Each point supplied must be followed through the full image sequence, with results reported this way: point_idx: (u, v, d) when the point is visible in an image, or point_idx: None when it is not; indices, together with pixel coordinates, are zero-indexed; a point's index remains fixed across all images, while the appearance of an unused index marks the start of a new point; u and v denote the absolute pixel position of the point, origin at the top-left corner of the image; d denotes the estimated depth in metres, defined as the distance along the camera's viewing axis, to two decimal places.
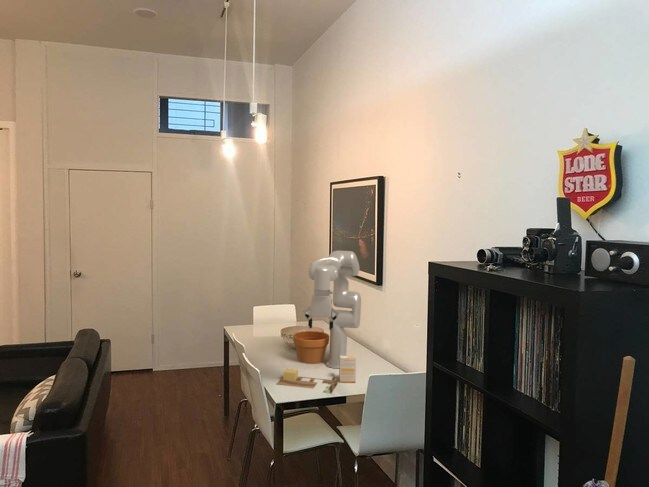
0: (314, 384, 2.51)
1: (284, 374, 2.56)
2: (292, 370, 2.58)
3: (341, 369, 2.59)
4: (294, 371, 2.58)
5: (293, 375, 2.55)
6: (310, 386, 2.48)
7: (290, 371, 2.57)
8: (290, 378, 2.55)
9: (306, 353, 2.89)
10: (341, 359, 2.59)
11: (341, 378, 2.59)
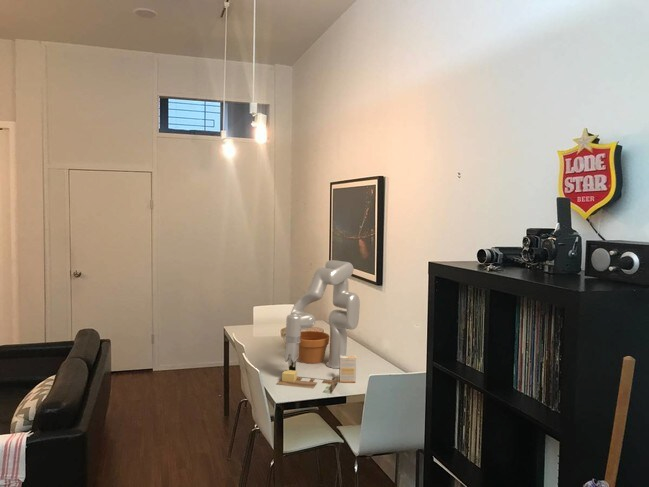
0: (314, 384, 2.51)
1: (283, 375, 2.54)
2: (291, 371, 2.57)
3: (341, 369, 2.59)
4: (293, 372, 2.56)
5: (292, 376, 2.53)
6: (310, 386, 2.48)
7: (289, 372, 2.55)
8: (289, 379, 2.54)
9: (306, 353, 2.89)
10: (341, 359, 2.59)
11: (341, 378, 2.59)
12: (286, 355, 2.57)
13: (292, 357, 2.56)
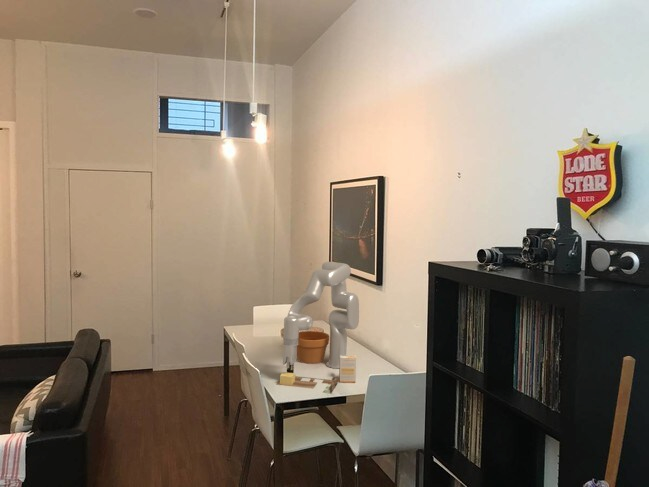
0: (314, 384, 2.51)
1: (280, 378, 2.50)
2: (289, 374, 2.52)
3: (341, 369, 2.59)
4: (291, 375, 2.51)
5: (290, 379, 2.49)
6: (310, 386, 2.48)
7: (287, 375, 2.51)
8: (286, 382, 2.49)
9: (306, 353, 2.89)
10: (341, 359, 2.59)
11: (341, 378, 2.59)
12: (284, 358, 2.52)
13: (290, 360, 2.52)
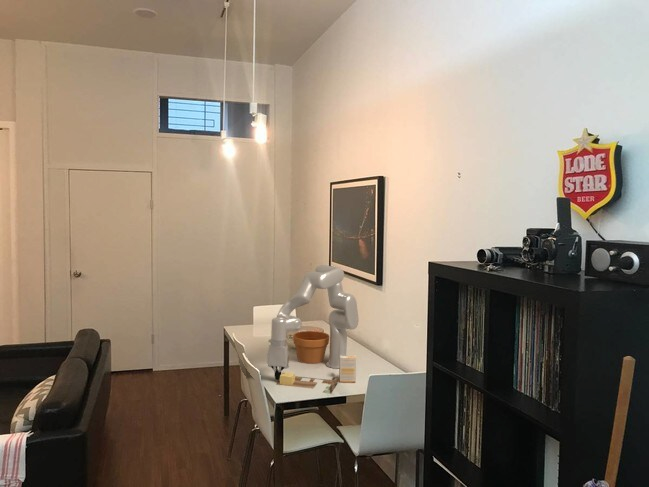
0: (314, 384, 2.51)
1: (280, 378, 2.50)
2: (289, 374, 2.52)
3: (341, 369, 2.59)
4: (291, 375, 2.51)
5: (290, 379, 2.49)
6: (310, 386, 2.48)
7: (287, 375, 2.51)
8: (286, 382, 2.49)
9: (306, 353, 2.89)
10: (341, 359, 2.59)
11: (341, 378, 2.59)
12: (286, 359, 2.51)
13: (288, 359, 2.54)
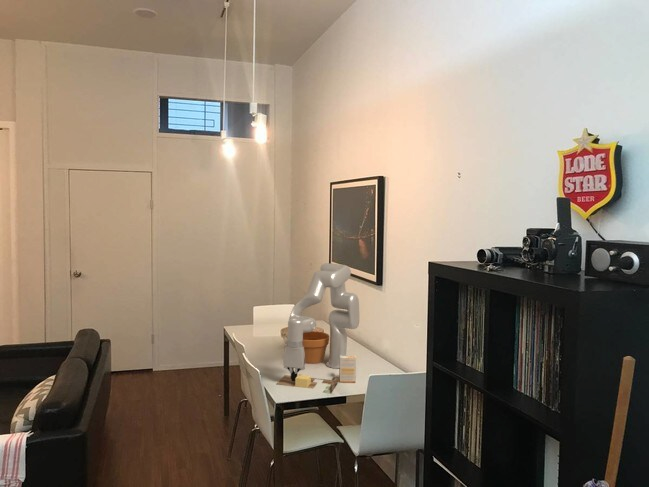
0: (314, 384, 2.51)
1: (296, 380, 2.47)
2: (304, 376, 2.50)
3: (341, 369, 2.59)
4: (307, 377, 2.49)
5: (305, 381, 2.46)
6: (310, 386, 2.48)
7: (302, 377, 2.49)
8: (302, 385, 2.47)
9: (306, 353, 2.89)
10: (341, 359, 2.59)
11: (341, 378, 2.59)
12: (303, 360, 2.49)
13: (304, 360, 2.52)
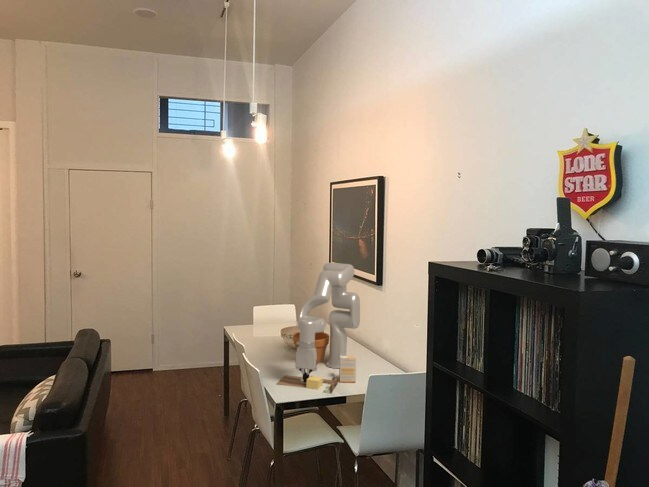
0: None
1: (307, 381, 2.46)
2: (316, 378, 2.48)
3: (341, 369, 2.59)
4: (318, 379, 2.47)
5: (316, 383, 2.44)
6: None
7: (314, 379, 2.47)
8: (313, 386, 2.45)
9: None
10: (341, 359, 2.59)
11: (341, 378, 2.59)
12: (315, 361, 2.47)
13: (316, 361, 2.50)
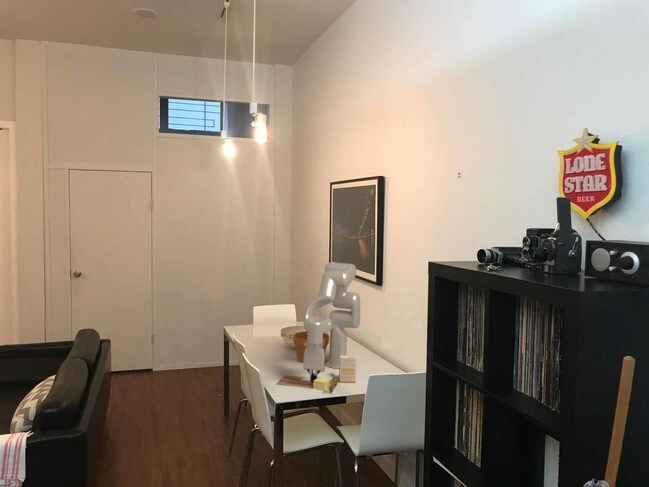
0: None
1: (314, 383, 2.45)
2: (323, 380, 2.46)
3: (341, 369, 2.59)
4: (325, 380, 2.45)
5: (323, 385, 2.43)
6: (310, 386, 2.48)
7: (321, 380, 2.45)
8: (320, 388, 2.43)
9: None
10: (341, 359, 2.59)
11: (341, 378, 2.59)
12: (323, 362, 2.47)
13: (324, 362, 2.50)
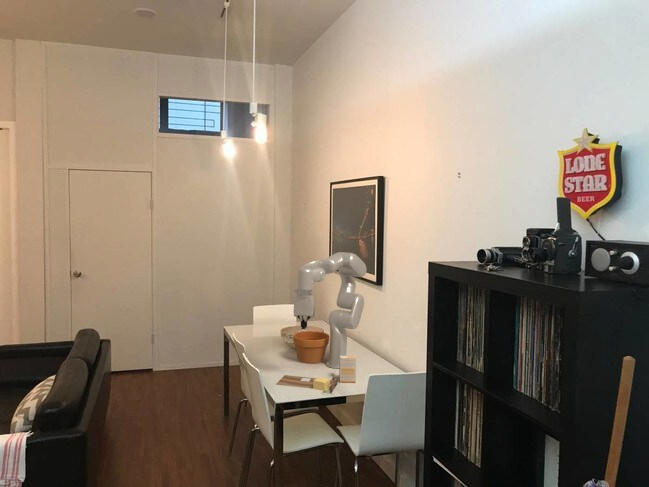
0: None
1: (314, 383, 2.45)
2: (323, 380, 2.46)
3: (341, 369, 2.59)
4: (325, 380, 2.45)
5: (323, 385, 2.43)
6: (310, 386, 2.48)
7: (321, 380, 2.45)
8: (320, 388, 2.43)
9: (306, 353, 2.89)
10: (341, 359, 2.59)
11: (341, 378, 2.59)
12: (313, 308, 2.55)
13: (314, 308, 2.58)
